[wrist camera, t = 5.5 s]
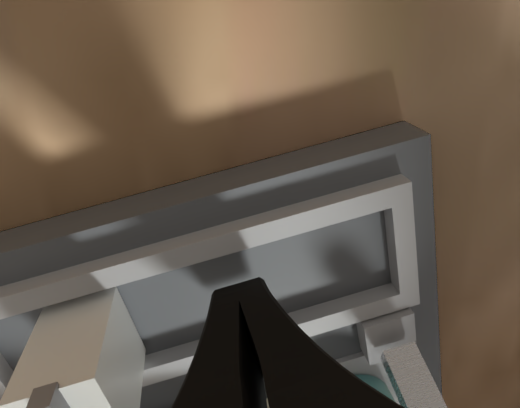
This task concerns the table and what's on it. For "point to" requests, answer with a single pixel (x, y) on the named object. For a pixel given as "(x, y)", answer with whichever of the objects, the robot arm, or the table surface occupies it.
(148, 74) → the table surface
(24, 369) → the slider knob
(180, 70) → the table surface
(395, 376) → the toggle lever
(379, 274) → the panel
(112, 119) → the table surface
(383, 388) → the push button
